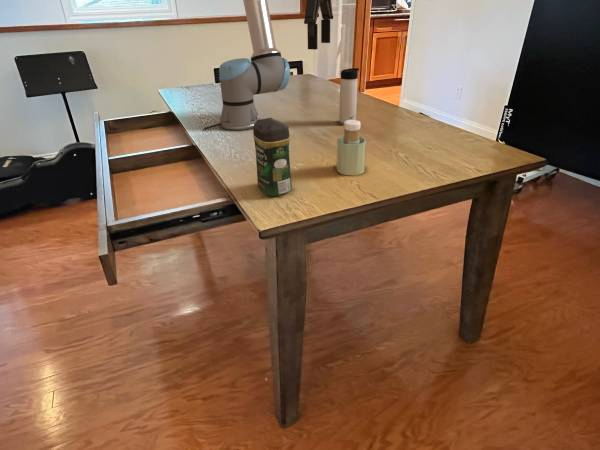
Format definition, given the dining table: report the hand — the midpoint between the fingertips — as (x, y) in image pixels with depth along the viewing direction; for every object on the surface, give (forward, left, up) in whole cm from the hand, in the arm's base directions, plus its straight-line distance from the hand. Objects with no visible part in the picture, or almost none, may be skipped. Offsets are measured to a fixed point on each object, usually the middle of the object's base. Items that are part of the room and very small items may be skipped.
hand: (319, 46), depth 123 cm
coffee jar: (-18, -32, -31) cm, 48 cm away
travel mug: (+15, +21, -31) cm, 40 cm away
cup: (+5, -23, -31) cm, 39 cm away
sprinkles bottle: (+5, -23, -30) cm, 38 cm away
